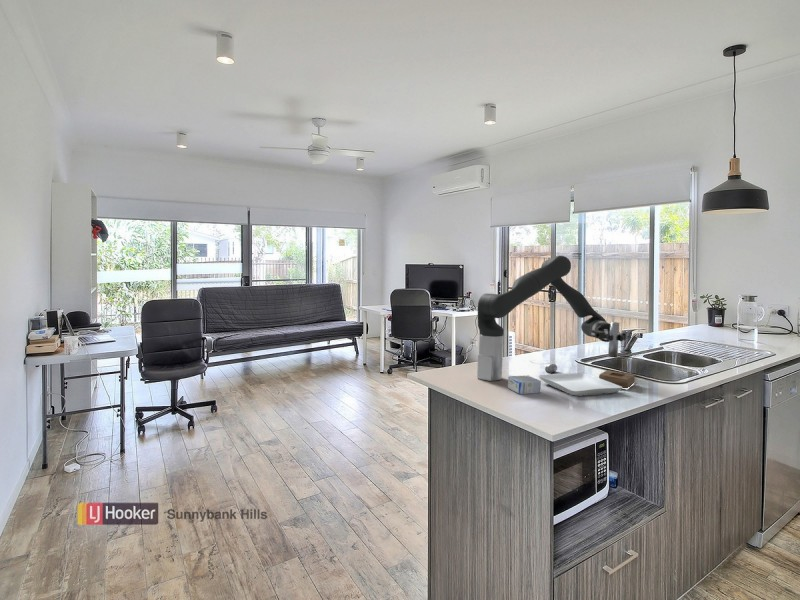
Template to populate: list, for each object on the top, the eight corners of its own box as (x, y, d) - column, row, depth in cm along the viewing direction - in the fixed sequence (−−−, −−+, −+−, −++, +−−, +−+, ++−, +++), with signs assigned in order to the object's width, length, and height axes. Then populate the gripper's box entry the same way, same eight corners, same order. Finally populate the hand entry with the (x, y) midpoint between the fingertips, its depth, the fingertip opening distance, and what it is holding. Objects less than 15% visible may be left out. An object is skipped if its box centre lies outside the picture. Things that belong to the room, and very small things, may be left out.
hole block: (627, 390, 164) (627, 379, 164) (598, 385, 171) (599, 374, 170) (634, 384, 172) (635, 374, 171) (606, 380, 178) (607, 370, 178)
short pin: (553, 372, 187) (558, 370, 190) (551, 365, 187) (556, 363, 191) (546, 374, 189) (551, 372, 193) (544, 366, 189) (549, 364, 193)
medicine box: (528, 386, 166) (507, 388, 164) (529, 374, 166) (507, 376, 164) (540, 392, 159) (518, 394, 157) (541, 380, 158) (519, 381, 156)
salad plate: (624, 395, 159) (624, 386, 158) (573, 400, 152) (573, 390, 152) (583, 380, 179) (583, 371, 178) (536, 383, 172) (537, 374, 172)
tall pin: (616, 357, 170) (618, 323, 168) (607, 356, 172) (609, 322, 171) (618, 356, 172) (620, 322, 171) (609, 355, 174) (611, 321, 173)
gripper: (586, 321, 186) (596, 327, 169) (622, 322, 184) (637, 329, 167) (585, 339, 187) (595, 347, 170) (621, 340, 184) (636, 349, 167)
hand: (616, 338), depth 168 cm, fingers closed on tall pin, 3 cm apart
